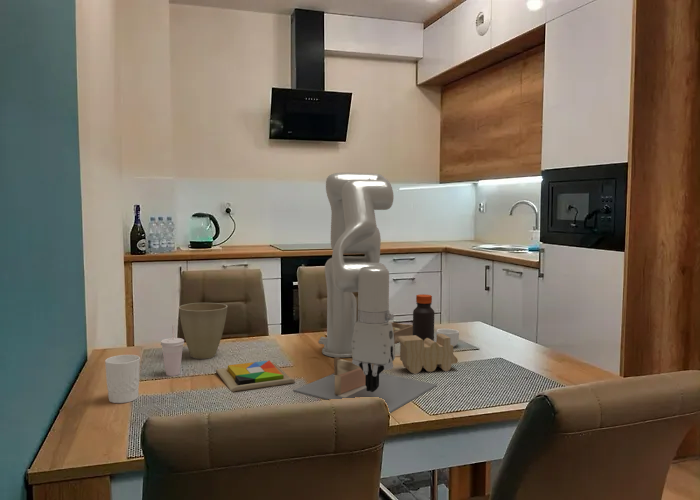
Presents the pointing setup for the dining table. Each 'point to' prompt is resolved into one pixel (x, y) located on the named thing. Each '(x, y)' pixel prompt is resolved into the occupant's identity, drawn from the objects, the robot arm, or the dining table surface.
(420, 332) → the bottle
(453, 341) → the teacup
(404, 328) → the tray
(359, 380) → the hinged fence panel
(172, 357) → the smoothie
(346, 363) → the fixed fence panel
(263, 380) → the wooden puzzle
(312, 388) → the card
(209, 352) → the plant pot
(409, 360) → the toy train
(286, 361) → the dining table surface
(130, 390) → the white cup
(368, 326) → the robot arm
